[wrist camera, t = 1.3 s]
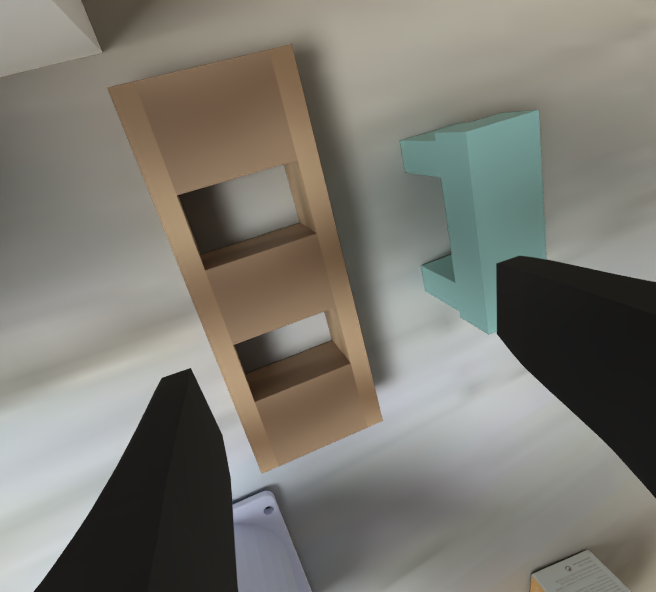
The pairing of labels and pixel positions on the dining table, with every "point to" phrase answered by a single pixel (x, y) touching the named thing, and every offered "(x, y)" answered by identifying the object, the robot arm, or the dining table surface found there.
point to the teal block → (482, 205)
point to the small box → (577, 576)
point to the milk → (43, 34)
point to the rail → (256, 244)
